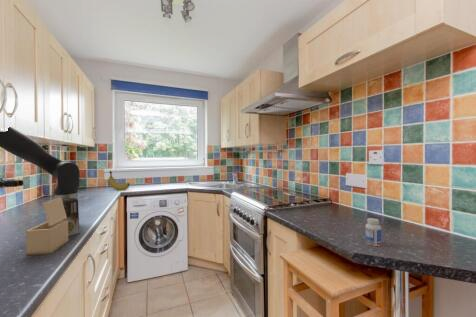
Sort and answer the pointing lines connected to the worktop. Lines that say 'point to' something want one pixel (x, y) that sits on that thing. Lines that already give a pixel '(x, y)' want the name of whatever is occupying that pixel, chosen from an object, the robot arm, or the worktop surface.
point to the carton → (46, 238)
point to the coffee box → (72, 215)
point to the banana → (115, 184)
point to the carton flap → (54, 211)
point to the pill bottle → (373, 232)
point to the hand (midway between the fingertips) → (20, 183)
